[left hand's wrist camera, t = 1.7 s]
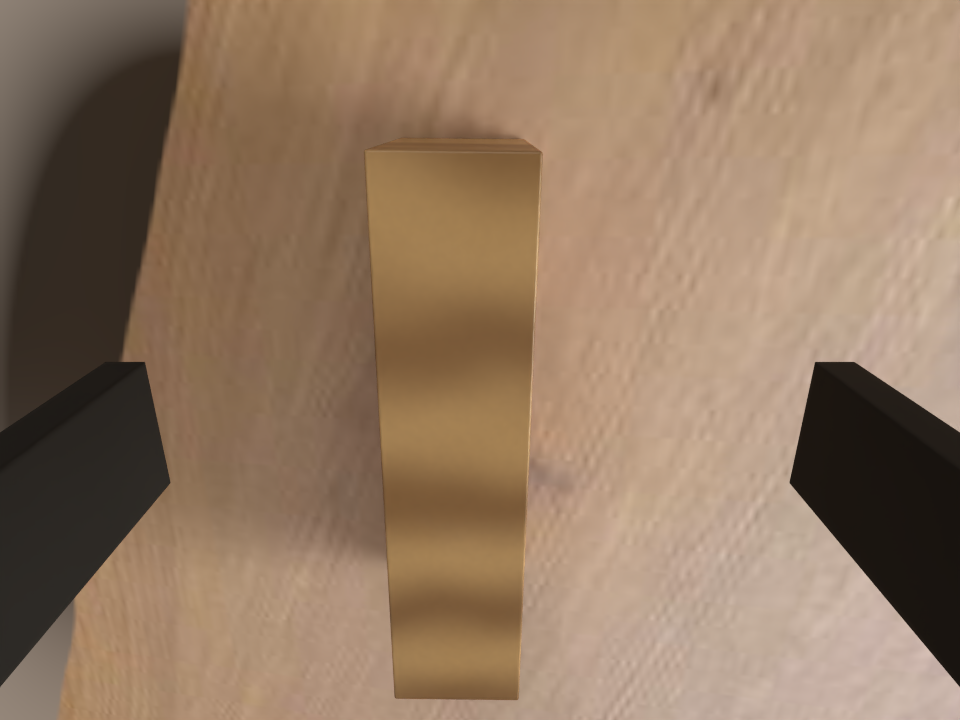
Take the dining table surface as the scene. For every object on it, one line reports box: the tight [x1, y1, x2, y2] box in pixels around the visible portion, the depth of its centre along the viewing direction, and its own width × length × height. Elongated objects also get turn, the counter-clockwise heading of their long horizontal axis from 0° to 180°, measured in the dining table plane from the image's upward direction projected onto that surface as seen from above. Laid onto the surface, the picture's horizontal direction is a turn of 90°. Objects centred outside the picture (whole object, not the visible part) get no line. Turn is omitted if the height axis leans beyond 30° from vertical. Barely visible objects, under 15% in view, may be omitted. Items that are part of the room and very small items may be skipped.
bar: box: [364, 138, 543, 700], centre depth 26 cm, size 22×5×8 cm, turn 179°
